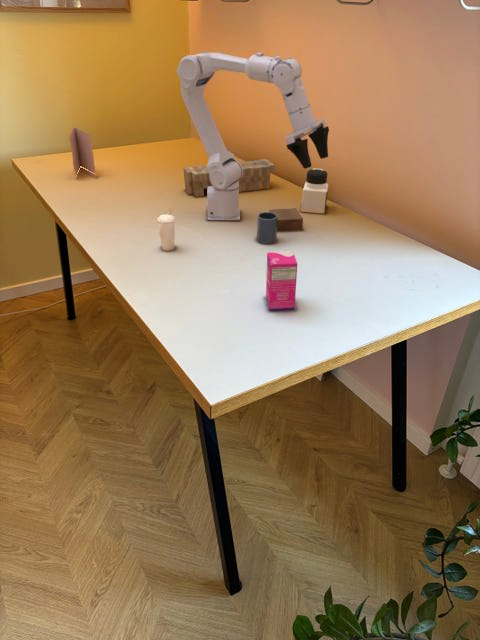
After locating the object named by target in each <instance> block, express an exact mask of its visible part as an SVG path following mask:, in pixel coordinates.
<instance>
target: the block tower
mask: <svg viewBox="0 0 480 640" xmlns="http://www.w3.org/2000/svg"><path fill="white" fill-rule="evenodd" d="M238 162H239V163H240V164H241V166H242V168H243V175H242V177H241V179H239V193H241V192H249V191H259V190H260V191H261V190H265V189H266V190H269V189H270V188H271V173H275V164H274V163H273V162H271V161H270V160H268V159H267V158H261V159H256V160H248V161H238ZM183 178H184V180H183V181H184V189H185V192H186V193H187V194H188V195H189V196H192V195H193V196H194V197H195V198H199V197H204V196H205V193H206V194H207V187H209V186H213V185H212V184H211V182H210V176H209V171H208V168H207V165H196V166H188V167H187V166H186V167H183Z"/></svg>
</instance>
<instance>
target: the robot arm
mask: <svg viewBox="0 0 480 640" xmlns="http://www.w3.org/2000/svg"><path fill="white" fill-rule="evenodd" d="M219 71H226V72H232V73H233V72H234V73H242V74H246V76H247V78H248V79H249V80H251V81H258V82H263V83H267V84H268V83H269V84H274V85H275V87H277V88H278V89H279V90H280V91H279V92H280V94H281V97H282V100H283V104H284V106H285V109H286V112H287V114H288V118H289V121H290V124H291V127H292V129H293V132H291V133H290V134H288V135H286V136H284V139H285V143H286V148H287V150H288V151H290V152H291V153H292V154H293V155H294V156H295V157H296V159H297V160H298V162H299V163H300V165H301V166H302V168H303V169H309V168H311V167H312V160H311V157H310V153H309V145H308V144H309V143H308V140H309V139H310V140H311V142H312V143H313V145H314V147H315V149H316V151H317V154H318V157H319V158H320V159H321V160H323V159H326V158H328V157H329V150H328V149H329V148H328V145H329V144H328V139H329V133H330V128H329V126H327V123H326V121H325V120H326V119H325V118H320V119H318V120H316V121H315V117H314V114H313V111H312V108H311V105H310V102H309V99H308V95H307V92H306V90H305V86H304V83H303V80H302V75H303V74H302V73H303V69H302V65H301V63H300V62H299V61H298V60H297V59H294V58H292V57H287V58H285V59H282V56H280V55H276V56H275V57H272V56H267V55H264V52H256V54H252V55H251V56H250V57H248V58H244V57H240V56H235V55H231V54H226V53H221V52H216V51H215V52H207V51H203V52H200V53H197V54H192V55H185V56H183V57H182V58H181V59H180V61H179V64H178V66H177V70H176V74H177V76H178V78H179V80H180V81H179V83H180V94H181V98H182V100H183V103H184V105H185V108H186V109H187V112H188V114H189V116H190V118H191V121H192V123H193V125H194V128H195V129H196V131H197V132H196V133H197V134H198V136H199V138H200V141H201V143H202V145H203V148H204V150H205V152H206V155H207V156H208V161H207V164H206V166H207V168H208V171H209V176H210V182H211V184H212V185H213V186H209V187H207V193H206V202H207V205H206V212H207V220H208V221H240V220H241V211H240V208H239V207H240V206H239V205H240V204H239V203H240V192H239V179H241V177H242V175H243V168H242V166H241V164H240V163H239V162H240V161H238V159H237V158H236V157H235V154H234V153H233V152H231V151H229V150H228V149H227V147H226V145H225V143H224V140H223V138H222V136H221V133H220V131H219V128H218V125H217V124H216V122H215V120H214V119H215V118H214V117H213V114H212V113H211V110H210V108H209V106H208V104H207V101H206V98H205V97H204V92H205V91H206V87H207V85H208V83H209V82H210V81H211V80H212V78H213V77H214V76H215V73H216V72H219ZM306 136H308V137H309V139H308V138H305V137H306ZM303 138H304V139H303Z"/></svg>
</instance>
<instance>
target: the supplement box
mask: <svg viewBox="0 0 480 640" xmlns="http://www.w3.org/2000/svg"><path fill="white" fill-rule="evenodd" d="M265 276H266V277H265V279H266V280H265V298H266V302H267V306H268V311H271V312H272V311H273V312H275V311H295V310H296V296H297V295H296V293H297V277H298V261H297V259H296V256H295V254H294V251H293V250H285V251H267V252H266V273H265Z"/></svg>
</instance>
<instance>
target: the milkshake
mask: <svg viewBox="0 0 480 640" xmlns="http://www.w3.org/2000/svg"><path fill="white" fill-rule="evenodd" d="M172 209H173V208H172V207H170V208H169V214H168V213H166V214H160V215H159V216H158V217H157V219H156V221H157V226H158V231H159V237H160V245H161V249H162V250H163V251H164V252H165V251H167V252H170V251H173V250H174V249H175V247H176V245H175V244H176V243H175V242H176V241H175V240H176V217H175V216H174V215H173V214H172Z"/></svg>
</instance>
